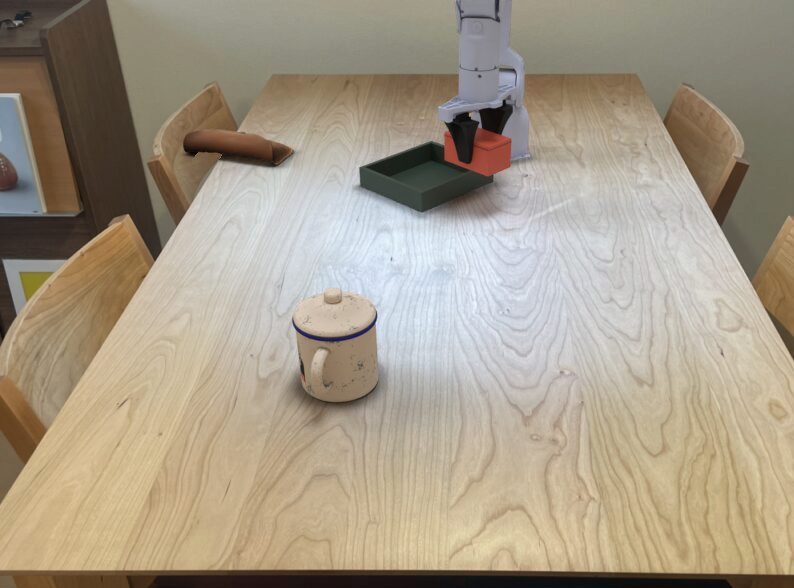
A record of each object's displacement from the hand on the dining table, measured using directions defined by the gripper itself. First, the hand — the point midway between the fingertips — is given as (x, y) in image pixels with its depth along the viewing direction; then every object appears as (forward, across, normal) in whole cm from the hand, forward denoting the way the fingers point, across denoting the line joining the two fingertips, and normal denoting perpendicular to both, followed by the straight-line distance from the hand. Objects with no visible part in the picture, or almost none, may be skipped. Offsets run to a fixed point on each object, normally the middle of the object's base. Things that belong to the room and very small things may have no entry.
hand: (477, 157), depth 132 cm
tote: (+8, +1, +12) cm, 14 cm away
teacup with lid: (+9, -45, -21) cm, 50 cm away
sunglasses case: (+9, -12, +46) cm, 48 cm away
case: (+1, 0, 0) cm, 1 cm away
